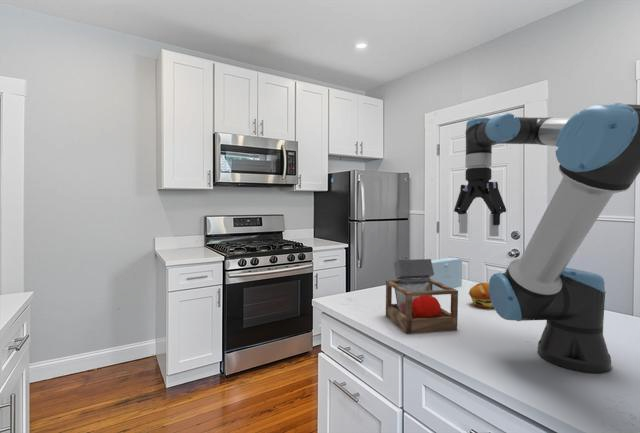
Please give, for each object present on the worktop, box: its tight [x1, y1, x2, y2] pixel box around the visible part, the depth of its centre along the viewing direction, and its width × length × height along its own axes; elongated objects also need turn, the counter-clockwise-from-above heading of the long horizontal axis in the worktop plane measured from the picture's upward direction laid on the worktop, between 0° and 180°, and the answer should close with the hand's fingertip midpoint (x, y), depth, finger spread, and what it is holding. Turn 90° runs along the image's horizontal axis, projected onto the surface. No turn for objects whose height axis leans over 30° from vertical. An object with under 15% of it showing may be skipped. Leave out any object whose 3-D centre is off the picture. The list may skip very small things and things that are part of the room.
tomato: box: [412, 295, 442, 318], centre depth 111 cm, size 9×9×8 cm
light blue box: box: [429, 257, 463, 291], centre depth 159 cm, size 23×6×13 cm, turn 122°
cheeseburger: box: [468, 282, 494, 310], centre depth 132 cm, size 10×11×10 cm
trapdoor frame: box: [385, 279, 459, 335], centre depth 114 cm, size 17×17×12 cm
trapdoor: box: [393, 258, 434, 319], centre depth 116 cm, size 19×13×6 cm
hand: (477, 234), depth 109 cm, fingers open, 13 cm apart
